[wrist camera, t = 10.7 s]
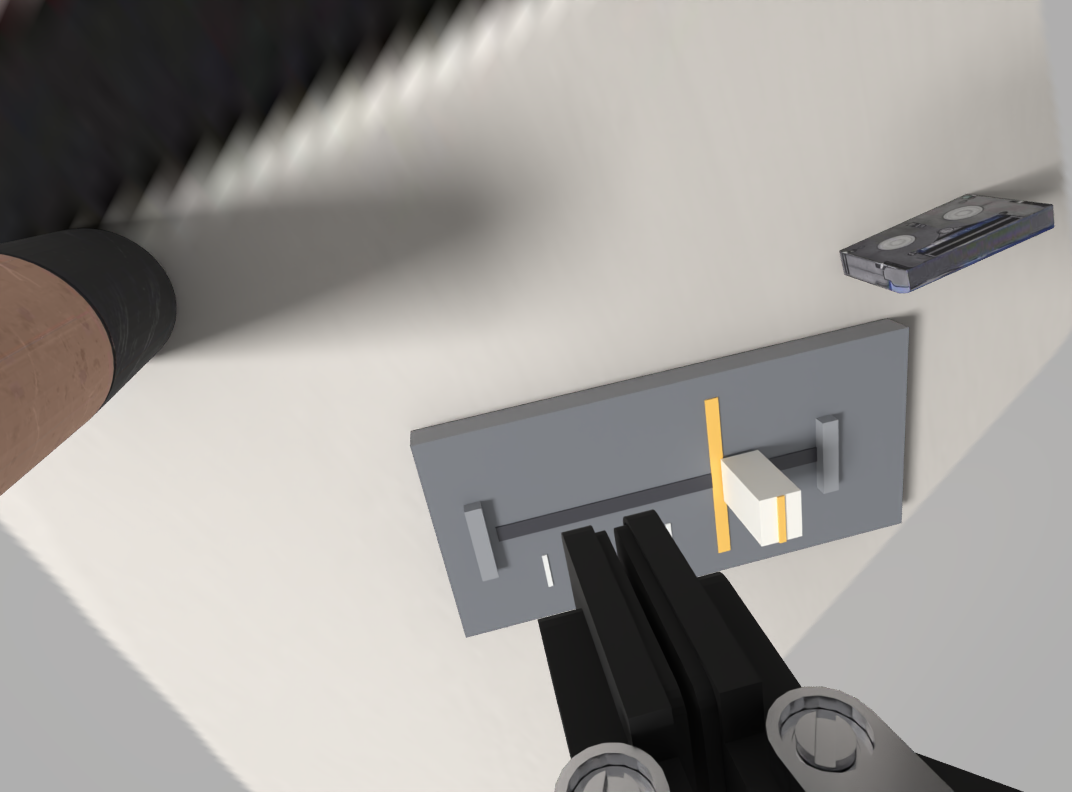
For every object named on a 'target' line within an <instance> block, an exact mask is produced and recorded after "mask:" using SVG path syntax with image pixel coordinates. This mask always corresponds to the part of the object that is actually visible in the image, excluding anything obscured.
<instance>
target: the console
mask: <svg viewBox="0 0 1072 792" xmlns="http://www.w3.org/2000/svg"><path fill="white" fill-rule="evenodd" d="M908 343H909V327H907V326H905V325H902V324H900V323H897V322H895V321H892V320H890V319H888V318H887V319H883V320H879V321H875V322H870V323H866V324H862V325H858V326H854V327H849V328H845V329H841V330H837V331H832V332H828V333H824V334H820V335H816V336H811V337H807V338H803V339H799V340H794V341H790V342H786V343H782V344H778V345H773V346H769V347H765V348H761V349H756V350H752V351H748V352H744V353H740V354H735V355H731V356H727V357H723V358H718V359H714V360H710V361H706V362H702V363H697V364H693V365H689V366H685V367H680V368H676V369H672V370H668V371H664V372H659V373H655V374H651V375H647V376H642V377H638V378H634V379H630V380H626V381H621V382H617V383H613V384H609V385H604V386H600V387H596V388H592V389H588V390H583V391H579V392H575V393H571V394H566V395H562V396H558V397H554V398H550V399H545V400H541V401H537V402H533V403H528V404H524V405H520V406H516V407H512V408H507V409H503V410H499V411H495V412H490V413H486V414H482V415H478V416H474V417H469V418H465V419H461V420H457V421H453V422H448V423H444V424H440V425H436V426H431V427H427V428H423V429H419V430H415V431H411V436H410V447H411V451H412V454H413V457H414V461H415V464H416V468H417V471H418V475H419V478H420V481H421V485H422V488H423V492H424V495H425V499H426V502H427V505H428V509H429V512H430V516H431V519H432V523H433V526H434V529H435V533H436V536H437V540H438V543H439V547H440V550H441V553H442V557H443V560H444V564H445V567H446V571H447V574H448V577H449V581H450V584H451V588H452V591H453V595H454V598H455V602H456V605H457V608H458V612H459V615H460V619H461V622H462V626H463V629H464V632H465V636H466V638H467V637H470V636H474V635H478V634H482V633H486V632H489V631H493V630H497V629H501V628H505V627H508V626H512V625H516V624H520V623H524V622H527V621H531V620H535V619H539V618H543V617H546V616H550V615H554V614H558V613H562V612H565V611H569V610H573V609H576V607H575V602H574V597H573V592H572V587H571V582H570V577H569V573H568V568H567V563H566V558H565V553H564V548H563V543H562V537H561V532H565V531H569V530H573V529H577V528H581V527H585V526H589V525H591V526H592V527H593V529H594V531H595V533H596V532H600V531H603V530H605V531H606V532H607V534H608V536H609V539H610V541H611V543H612V545H613V547H614V549H615V551H616V554H617V549H616V543H615V537H614V528H615V527H619V526H623V517H624V516H628V515H632V514H636V513H640V512H644V511H648V510H652V509H654V510H655V511H656V512H657V514H658V515H659V517H660V518H661V520H662V522H663V523H664V525H665V527H666V528H667V530H668V531H669V533H670V535H671V536H672V538H673V539H674V541H675V543H676V544H677V546H678V547H679V549H680V551H681V552H682V554H683V555H684V557H685V559H686V560H687V562H688V564H689V565H690V567H691V568H692V570H693V572H694V573H695V575H696V576H697V577H698V576H702V575H706V574H710V573H713V572H717V571H721V570H725V569H729V568H732V567H736V566H740V565H744V564H748V563H751V562H755V561H759V560H763V559H767V558H770V557H774V556H778V555H782V554H785V553H789V552H793V551H797V550H801V549H804V548H808V547H812V546H816V545H820V544H823V543H827V542H831V541H835V540H839V539H842V538H846V537H850V536H854V535H858V534H861V533H865V532H869V531H873V530H877V529H880V528H884V527H888V526H892V525H896V524H899V523H901V522H902V497H903V471H904V445H905V420H906V394H907V368H908ZM755 450H759V451H760V452H761V453H762V454H763V455H764V456H765V457H766V458H767V459H768V460H769V461H770V462H771V463H772V464H774V465H775V466H776V467H777V468H778V469H779V470H780V471H781V472H782V473H783V474H784V475H785V476H786V477H787V478H788V479H789V480H790V481H792V482H793V483H794V484H795V485H796V486H797V487H798V488H799V489H800V490H801V507H802V536H800V537H797V538H793V539H789V540H787V542H783V543H779V542H777V543H774V544H770V545H766V546H761V545H760V544H759V543H758V541H757V540H756V539H755V538H754V537H753V535H752V534H751V533H750V532H749V530H748V529H747V528H746V527H745V526H744V524H743V523H742V522H741V521H740V519H739V518H738V517H737V516H736V515H735V513H734V512H733V511H732V510H731V509H730V507H729V506H728V505H727V504H726V502H725V501H724V494H723V482H722V470H721V459H723V458H727V457H731V456H735V455H739V454H743V453H747V452H751V451H755ZM617 556H618V555H617Z"/></svg>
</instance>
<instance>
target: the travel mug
mask: <svg viewBox="0 0 1072 792" xmlns="http://www.w3.org/2000/svg"><path fill="white" fill-rule="evenodd" d="M175 318H176V300H175V294H174V291H173V287H172V285H171V283H170V280H169V278H168V277H167V275H166V273H165V272H164V270H163V269H162V267H161V266H160V265H159V263H158V262H157V261H156V260H155V259H154V258H153V257H152V256H151V255H150V254H149V253H148V252H147V251H145V250H144V249H143V248H142V247H140V246H139V245H137V244H136V243H134V242H132V241H130V240H128V239H126V238H124V237H122V236H119V235H117V234H114V233H111V232H107V231H103V230H97V229H85V228H81V229H70V230H63V231H58V232H53V233H48V234H44V235H39V236H35V237H30V238H25V239H21V240H16V241H12V242H7V243H2V244H0V496H1V495H2V494H3V493H4V492H5V491H7V490H8V489H9V488H10V487H11V486H12V485H14V484H15V483H16V482H17V481H18V480H19V479H21V478H22V477H23V476H24V475H25V474H26V473H28V472H29V471H30V470H31V469H32V468H33V467H35V466H36V465H37V464H38V463H39V462H40V461H42V460H43V459H44V458H45V457H46V456H47V455H49V454H50V453H51V452H52V451H53V450H54V449H56V448H57V447H58V446H59V445H60V444H62V443H63V442H64V441H65V440H66V439H67V438H69V437H70V436H71V435H72V434H73V433H74V432H76V431H77V430H78V429H79V428H80V427H81V426H83V425H84V424H85V423H86V422H87V421H88V420H90V419H91V417H92V416H94V415H95V414H96V413H97V412H98V411H99V410H100V409H101V408H102V407H103V406H104V405H105V404H106V403H107V402H108V401H109V400H110V399H111V398H112V397H113V396H114V395H115V394H116V393H117V392H118V391H119V390H120V389H121V388H122V387H123V386H124V385H125V384H126V383H127V382H128V381H129V380H130V379H131V378H132V377H133V376H134V375H135V374H136V373H137V372H138V371H139V370H140V369H141V368H142V367H143V366H144V365H145V364H146V363H147V362H148V361H149V360H150V359H151V358H152V357H153V356H154V355H155V354H156V353H157V352H158V351H159V350H160V349H161V348H162V346H163V345H164V344H165V342H166V341H167V340H168V338H169V336H170V334H171V332H172V330H173V327H174V324H175Z"/></svg>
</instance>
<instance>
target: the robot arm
mask: <svg viewBox="0 0 1072 792" xmlns="http://www.w3.org/2000/svg"><path fill="white" fill-rule="evenodd" d="M561 537H562V543H563V548H564V553H565V558H566V563H567V568H568V573H569V577H570V582H571V587H572V592H573V597H574V602H575V607H576V609H575V610H572V611H568V612H564V613H560V614H556V615H553V616H549V617H545V618H541V619H538V623H539V627H540V632H541V636H542V640H543V645H544V649H545V653H546V657H547V662H548V666H549V670H550V674H551V679H552V683H553V687H554V691H555V695H556V699H557V704H558V708H559V712H560V716H561V720H562V724H563V728H564V732H565V737H566V741H567V745H568V749H569V753H570V757H571V760H570V761H569V762H568V764H567V765H566V766H565V767H564V768H563V769H562V771H561V774H560V776H559V778H558V780H557V782H556V784H555V792H1022V791H1020V790H1017V789H1014V788H1012V787H1009V786H1006V785H1003V784H1001V783H998V782H995V781H992V780H990V779H987V778H984V777H981V776H979V775H976V774H973V773H970V772H967V771H965V770H962V769H959V768H956V767H954V766H951V765H948V764H945V763H943V762H940V761H937V760H934V759H932V758H929V757H926V756H923V755H920V754H918V753H915V752H914V751H913V750H912V749H911V748H910V747H909V746H908V745H907V744H906V743H905V742H904V741H903V740H901V738H900V737H899V736H898V735H897V734H896V733H895V732H893V730H892V729H891V728H890V727H889V726H888V725H887V724H886V723H885V722H884V721H883V720H881V718H880V717H879V716H877V714H876V713H875V712H874V711H872V710H871V709H870V708H869V707H867V706H866V705H865V704H863V703H862V702H861V701H860V700H858V699H857V698H855V697H853V696H850V695H848V694H846V693H844V692H842V691H840V690H835V689H830V688H826V687H801V686H800V684H799V683H798V681H797V680H796V678H795V677H794V675H793V674H792V672H791V671H790V670H789V668H788V667H787V665H786V664H785V662H784V661H783V659H782V658H781V656H780V655H779V653H778V652H777V651H776V649H775V648H774V646H773V645H772V643H771V642H770V640H769V639H768V637H767V636H766V635H765V633H764V632H763V630H762V629H761V627H760V626H759V624H758V623H757V621H756V620H755V619H754V617H753V616H752V614H751V613H750V611H749V610H748V608H747V607H746V605H745V604H744V603H743V601H742V600H741V598H740V597H739V595H738V594H737V592H736V591H735V589H734V588H733V586H732V585H731V584H730V582H729V581H728V579H727V578H726V577H725V576H724V575H723V574H722V573H720V572H716V573H712V574H708V575H704V576H701V577H697V576H696V575H695V573H694V572H693V570H692V568H691V567H690V565H689V564H688V562H687V560H686V559H685V557H684V555H683V554H682V552H681V551H680V549H679V547H678V546H677V544H676V543H675V541H674V539H673V538H672V536H671V535H670V533H669V531H668V530H667V528H666V527H665V525H664V523H663V522H662V520H661V518H660V517H659V515H658V514H657V512H656V511H655V510H654V509H652V510H648V511H644V512H640V513H636V514H632V515H628V516H624V517H623V526H619V527H615V528H614V537H615V543H616V549H617V554H616V551H615V549H614V547H613V545H612V543H611V541H610V539H609V536H608V534H607V532H606V531H605V530H603V531H600V532H596V533H595V531H594V529H593V527H592V526H591V525H589V526H585V527H581V528H577V529H573V530H569V531H565V532H561ZM617 555H618V556H617Z"/></svg>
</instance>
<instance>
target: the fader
mask: <svg viewBox="0 0 1072 792" xmlns="http://www.w3.org/2000/svg"><path fill="white" fill-rule="evenodd" d="M721 470H722V482H723V494H724V501H725V502H726V504H727V505H728V506H729V507H730V509H731V510H732V511H733V512H734V513H735V515H736V516H737V517H738V518H739V519H740V521H741V522H742V523H743V524H744V526H745V527H746V528H747V529H748V530H749V532H750V533H751V534H752V535H753V537H754V538H755V539H756V540H757V541H758V543H759V544H760V545H761V546H766V545H770V544H774V543H777V542H779V543H783V542H787V540H789V539H793V538H797V537H800V536H802V507H801V490H800V489H799V488H798V487H797V486H796V485H795V484H794V483H793V482H792V481H790V480H789V479H788V478H787V477H786V476H785V475H784V474H783V473H782V472H781V471H780V470H779V469H778V468H777V467H776V466H775V465H774V464H772V463H771V462H770V461H769V460H768V459H767V458H766V457H765V456H764V455H763V454H762V453H761V452H760V451H759V450H755V451H751V452H747V453H743V454H739V455H735V456H731V457H727V458H723V459H721Z"/></svg>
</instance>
